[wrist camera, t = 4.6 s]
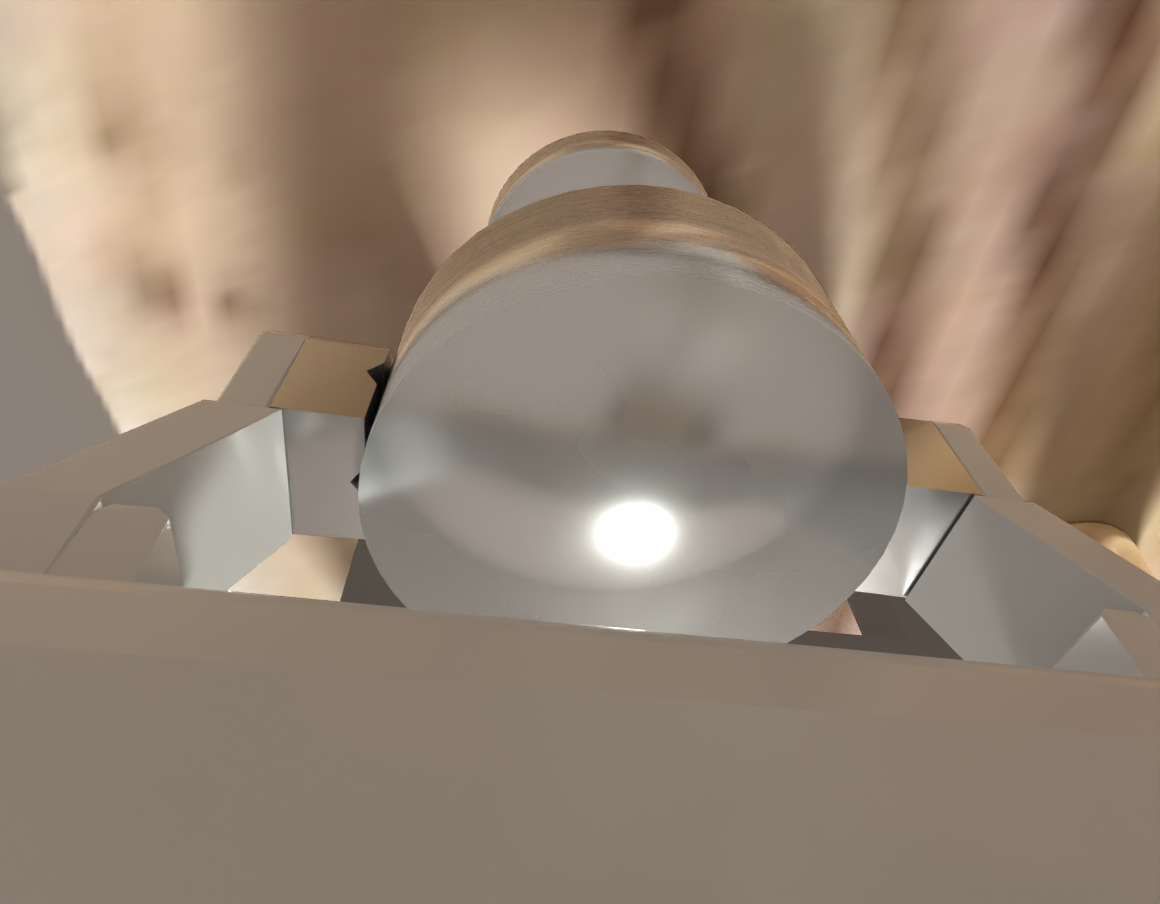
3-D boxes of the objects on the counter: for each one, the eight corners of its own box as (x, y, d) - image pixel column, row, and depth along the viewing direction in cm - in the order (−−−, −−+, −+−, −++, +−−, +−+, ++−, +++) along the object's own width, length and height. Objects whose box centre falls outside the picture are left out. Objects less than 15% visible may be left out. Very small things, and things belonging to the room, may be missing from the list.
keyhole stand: (418, 338, 24) (330, 632, 14) (828, 395, 26) (994, 690, 16) (399, 683, 34) (341, 987, 25) (692, 706, 36) (744, 998, 27)
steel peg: (455, 48, 12) (355, 226, 6) (805, 114, 13) (1017, 329, 7) (435, 362, 16) (359, 665, 10) (708, 399, 16) (793, 702, 11)
